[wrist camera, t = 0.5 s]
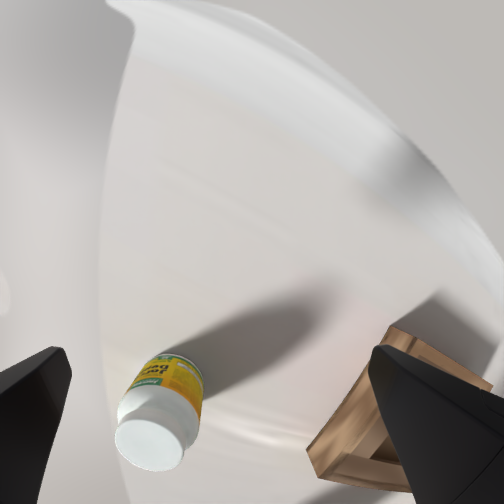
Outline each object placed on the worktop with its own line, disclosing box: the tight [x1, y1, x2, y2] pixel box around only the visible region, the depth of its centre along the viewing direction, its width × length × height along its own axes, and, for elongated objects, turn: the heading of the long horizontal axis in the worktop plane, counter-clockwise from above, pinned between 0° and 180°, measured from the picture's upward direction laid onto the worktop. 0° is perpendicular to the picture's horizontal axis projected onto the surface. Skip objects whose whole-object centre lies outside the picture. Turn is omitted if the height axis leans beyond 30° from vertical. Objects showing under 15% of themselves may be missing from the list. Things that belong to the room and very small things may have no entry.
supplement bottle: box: [115, 354, 204, 472], centre depth 18 cm, size 5×5×10 cm
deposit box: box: [306, 326, 493, 493], centre depth 22 cm, size 14×14×4 cm
